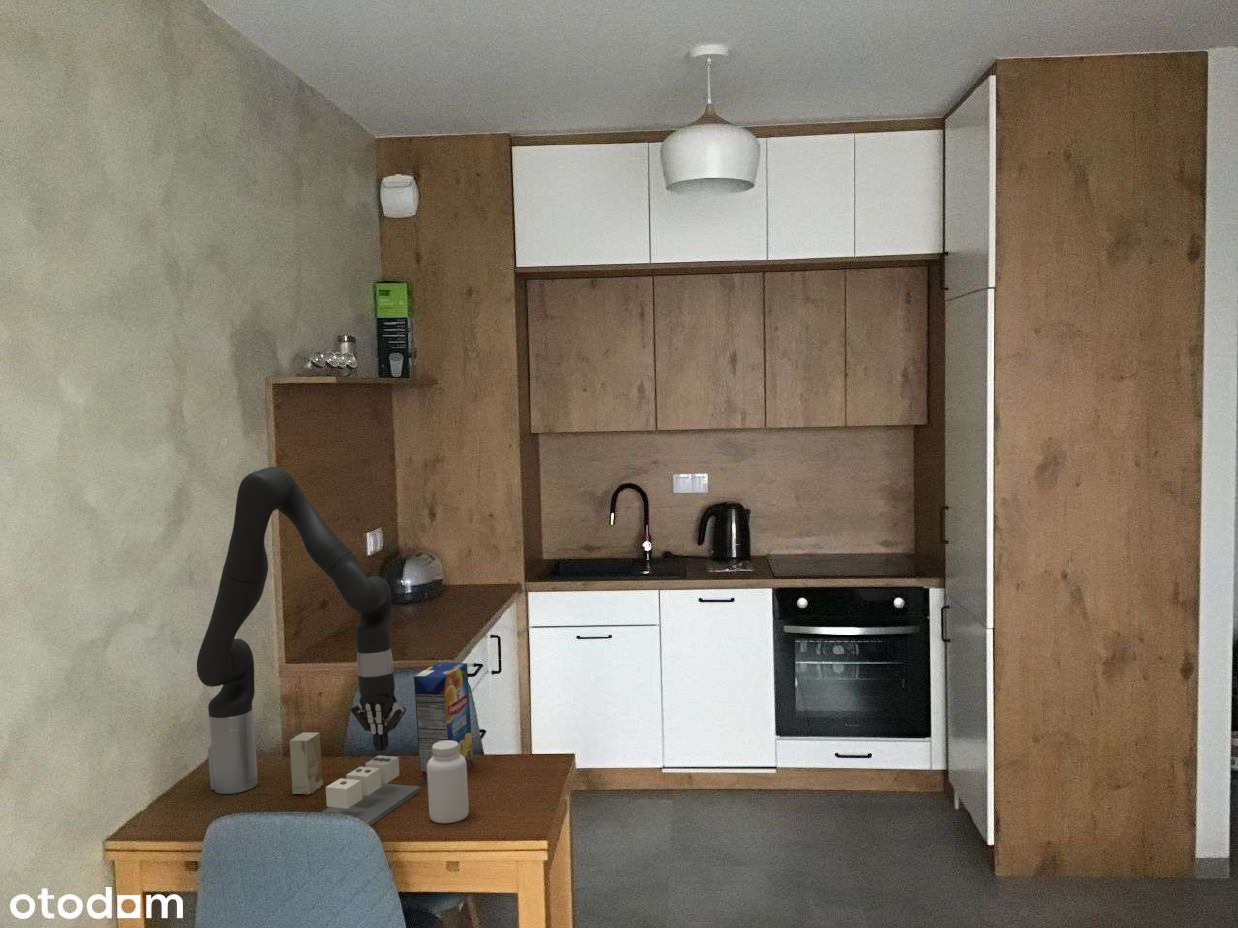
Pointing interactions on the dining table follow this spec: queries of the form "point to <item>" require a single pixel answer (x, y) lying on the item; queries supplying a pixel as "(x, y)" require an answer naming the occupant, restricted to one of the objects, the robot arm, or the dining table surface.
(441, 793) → the pill bottle
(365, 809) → the grey rectangular board
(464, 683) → the juice carton
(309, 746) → the skincare box
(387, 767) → the key
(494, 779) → the dining table surface
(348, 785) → the key
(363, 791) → the key
